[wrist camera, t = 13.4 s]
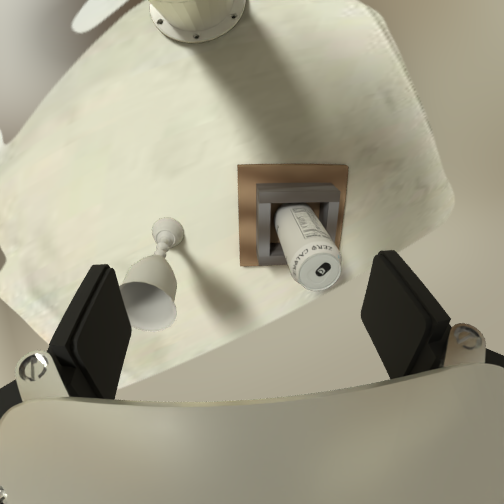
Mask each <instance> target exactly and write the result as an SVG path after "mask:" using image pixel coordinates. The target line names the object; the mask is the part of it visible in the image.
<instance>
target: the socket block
mask: <svg viewBox="0 0 504 504" xmlns="http://www.w3.org/2000/svg"><path fill="white" fill-rule="evenodd" d="M237 167H238V209H239V245H240V266H258V265H259V266H264V265H283V264H287V261H286V258H285V255H284V252H283V249H282V246H281V243H280V240H279V237H278V234H277V232H276V229H275V226H274V216H275V213H276V211H277V210H278V208H279V207H280V206H281V205H283V204H284V203H301V202H305V203H306V204H308V205H309V206H310V207H311V209H312V210H313V212H314V213H315V215H316V216H317V218H318V219H319V221H320V222H321V224H322V225H323V227H324V228H325V230H326V231H327V233H328V234H329V236H330V237H331V239H332V240H333V242H334V244H335V245H336V247H337V248H338V250H339V245H340V238H341V230H342V223H343V215H344V206H345V198H346V188H347V179H348V168H349V167H348V166H347V165H337V164H245V165H237Z"/></svg>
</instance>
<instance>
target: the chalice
mask: <svg viewBox="0 0 504 504" xmlns="http://www.w3.org/2000/svg"><path fill="white" fill-rule="evenodd" d="M152 235H153V238H154V240H155V242H156V243H157V246H156V248H157V250H156V251H155V253H154V254H155V255H151V256H148V257H145V258H143V259H141V260H139V261H138V262H136V263H135V264H133V265H132V266H131V267H130V269H129V270H128V272H127V274H126V276H125V279H124V281H123V283H122V285H121V286H119V288H120V291H121V295H122V298H123V301H124V305H125V308H126V311H127V314H128V317H129V320H130V324H131V326H132V327H133V328H136V329H139V330H142V331H150V332H155V331H161V330H164V329H166V328H168V327H170V326H171V325H172V324H173V323H174V322H175V319H176V316H177V311H176V306H175V304H174V300H175V294H176V289H177V282H176V278H175V275H174V272H173V270H172V268H171V266H170V265H169V263H168V262H167V261H166V259H165V257H166V252H167V251H168V250H169V248H172V247H174V246H176V245H177V244H179V243H180V242H181V241H182V239H183V236H184V230H183V227H182V225H181V224H180V223H179V222H178V221H177V220H175V219H173V218H168V217H164V218H161V219H159V220H157V221H156V222H155V223H154V225H153V227H152Z"/></svg>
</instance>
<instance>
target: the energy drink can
mask: <svg viewBox="0 0 504 504" xmlns="http://www.w3.org/2000/svg"><path fill="white" fill-rule="evenodd" d="M274 226H275V229H276V232H277V234H278V237H279V240H280V243H281V246H282V249H283V252H284V255H285V258H286V261H287V264H288V266H289V269H290V272H291V275H292V277H293V278H294V280H295V281H296V282H298V283H299V284H301V285H302V286H303V287H304V288H306V289H308V290H311V291H321V290H324V289H327V288H329V287H331V286H332V285H333V284H334V283H335V282H336V281H337V280H338V278H339V276H340V273H341V254H340V252H339V250H338V248H337V247H336V245H335V244H334V242H333V240H332V239H331V237H330V236H329V234H328V233H327V231H326V230H325V228H324V227H323V225H322V224H321V222H320V221H319V219H318V218H317V216H316V215H315V213H314V212H313V210H312V209H311V207H310V206H309V205H308V204H306V203H305V202H301V203H284V204H283V205H281V206H280V207H279V208H278V210H277V211H276V213H275V216H274Z"/></svg>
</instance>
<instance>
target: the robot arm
mask: <svg viewBox="0 0 504 504" xmlns="http://www.w3.org/2000/svg"><path fill="white" fill-rule="evenodd" d="M148 1H149V2H150V4H149V10H150V16H151V18H152V21H153V23H154V24H155V26H156V27H157V28H158V29H159V30H160V31H161V32H162V33H163V34H165V35H166V36H168V37H170V38H172V39H174V40H177V41H180V42H187V43H200V42H205V41H210V40H212V39H215V38H218V37H220V36H222V35H223V34H225V33H227V32H228V31H229V30H230V29H232V28H233V27H234V26H235V24H236V23H237V22H238V21H239V19H240V17H241V16H242V14H243V11H244V8H245V3H246V0H148ZM232 16H235V17H236V18H235V19H232ZM160 22H163V24H161V25H160ZM196 36H199V38H198V39H196V38H195V37H196ZM361 319H362V322H363V323H364V326H365V327H366V330H367V331H368V333H369V335H370V337H371V339H372V341H373V344H374V346H375V347H376V350H377V352H378V354H379V356H380V358H381V360H382V362H383V364H384V366H385V368H386V370H387V373H388V375H389V377H390V380H386V381H381V382H376V383H371V384H367V385H361V386H356V387H350V388H344V389H338V390H332V391H326V392H318V393H311V394H304V395H295V396H287V397H277V398H266V399H253V400H237V401H214V402H152V401H129V400H114V399H115V395H116V391H117V387H118V382H119V378H120V374H121V370H122V366H123V363H124V359H125V355H126V351H127V348H128V344H129V340H130V337H131V331H132V330H131V324H130V320H129V317H128V314H127V311H126V308H125V305H124V301H123V298H122V295H121V291H120V288H119V284H118V281H117V277H116V274H115V270H114V269H113V268H110V267H109V265H108V264H101V265H92V267H91V268H90V270H89V271H88V273H87V275H86V277H85V278H84V280H83V282H82V283H81V285H80V287H79V289H78V290H77V292H76V294H75V296H74V297H73V299H72V301H71V303H70V305H69V307H68V308H67V310H66V312H65V314H64V316H63V318H62V320H61V322H60V324H59V326H58V327H57V329H56V331H55V333H54V335H53V337H52V339H51V341H50V344H49V348H48V350H47V352H45V351H41V350H38V351H32V352H30V353H28V354H26V355H25V356H23V357H22V358H21V359H20V360H19V362H18V364H17V365H16V369H15V377H16V380H14V381H12V382H11V383H9V384H7V385H6V386H4V387H2V388H1V389H0V504H504V356H503V355H501V354H498V353H496V352H493V351H491V350H489V349H486V342H485V338H484V336H483V334H482V333H481V332H480V331H479V330H478V329H477V328H475V327H474V326H471V325H469V324H465V323H459V324H455V325H454V326H453V327H451V326H450V324H449V322H450V320H451V318H450V317H449V316H448V314H447V313H446V312H445V310H444V309H443V308H442V307H441V305H440V304H439V303H438V302H437V300H436V299H435V298H434V297H433V295H432V294H431V293H430V292H429V290H428V289H427V288H426V287H425V285H424V284H423V283H422V282H421V280H420V279H419V278H418V277H417V276H416V274H415V273H414V272H413V271H412V270H411V268H410V267H409V266H408V265H407V264H406V263H405V261H403V259H402V258H401V257H400V256H399V255H398V253H397V252H396V251H394V250H389V251H380V252H379V253H378V255H376V256H375V257H374V259H373V264H372V268H371V273H370V277H369V282H368V286H367V290H366V294H365V298H364V302H363V306H362V310H361Z"/></svg>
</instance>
